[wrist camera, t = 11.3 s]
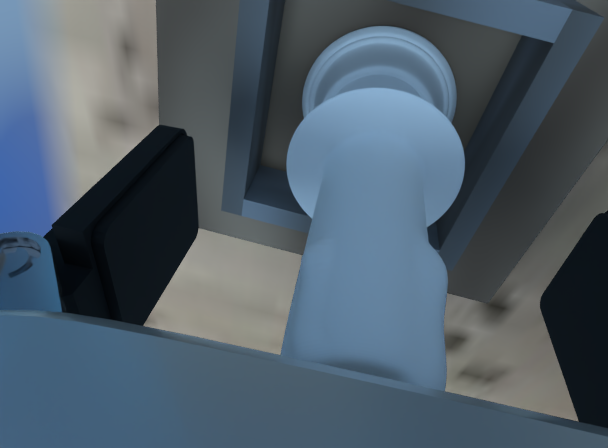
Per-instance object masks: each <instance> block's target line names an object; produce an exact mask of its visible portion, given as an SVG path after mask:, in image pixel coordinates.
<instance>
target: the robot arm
mask: <svg viewBox="0 0 608 448" xmlns="http://www.w3.org/2000/svg"><path fill="white" fill-rule="evenodd" d="M198 228H199V220H198V203H197V186H196V169H195V153H194V140H193V138H192V137H191V136H187V133H186V131H185V130H184V129H182V128H176V127H171V126H166V125H159V126H157V127H156V128H155V129H154V130H153V131H152V132H151V133H150V134H149V135H147V136H146V137H145V138H144V139H143V140H142V141H141V142H140V143H139V144H138V145H137V146H136V147H135V148H134V149H133V150H131V151H130V152H129V153H128V154H127V155H126V156H125V157H124V158H123V159H122V160H121V161H120V162H119V163H118V164H117V165H115V166H114V167H113V168H112V169H111V170H110V171H109V172H108V173H107V174H106V175H105V176H104V177H103V178H102V179H100V180H99V181H98V182H97V183H96V184H95V185H94V186H93V187H92V188H91V189H90V190H89V191H88V192H87V193H86V194H84V195H83V196H82V197H81V198H80V199H79V200H78V201H77V202H76V203H75V204H74V205H73V206H72V207H71V208H69V209H68V210H67V211H66V212H65V213H64V214H63V215H62V216H61V217H60V218H59V219H58V220H57V221H56V222H55V223H53V224H52V229H51V230H50V231H49V232H48V233H47V234H46V235H45V236H44V237H42V236H40V235H37V234H34V233H30V232H9V233H2V234H0V448H608V211H607V212H605V213H601V214H598V215H597V216H596V217H595V218H594V219H593V221H592V222H591V224H590V225H589V227H588V228H587V230H586V231H585V232H584V234H583V235H582V237H581V238H580V240H579V241H578V243H577V244H576V246H575V247H574V249H573V250H572V252H571V253H570V255H569V256H568V258H567V259H566V260H565V262H564V263H563V265H562V266H561V268H560V269H559V271H558V272H557V274H556V275H555V277H554V278H553V280H552V281H551V283H550V284H549V286H548V287H547V288H546V290H545V291H544V293H543V295H542V297H541V301H540V309H541V312H542V315H543V318H544V321H545V324H546V327H547V330H548V333H549V335H550V338H551V341H552V344H553V347H554V350H555V353H556V356H557V359H558V362H559V365H560V368H561V371H562V373H563V376H564V379H565V382H566V385H567V388H568V391H569V394H570V397H571V400H572V403H573V406H574V409H575V411H576V414H577V417H578V420H579V422H577V421H573V420H569V419H564V418H560V417H556V416H551V415H547V414H542V413H538V412H534V411H529V410H525V409H520V408H516V407H512V406H507V405H503V404H498V403H494V402H490V401H485V400H481V399H476V398H472V397H467V396H463V395H458V394H454V393H450V392H445V391H441V390H436V389H432V388H427V387H423V386H418V385H414V384H409V383H405V382H400V381H396V380H391V379H387V378H382V377H378V376H373V375H369V374H364V373H360V372H355V371H351V370H346V369H342V368H337V367H333V366H328V365H324V364H319V363H314V362H310V361H305V360H301V359H296V358H291V357H287V356H282V355H278V354H273V353H268V352H264V351H259V350H255V349H250V348H245V347H241V346H236V345H232V344H227V343H222V342H218V341H213V340H208V339H204V338H199V337H195V336H190V335H185V334H180V333H175V332H170V331H165V330H160V329H155V328H150V327H145V326H143V325H144V323H145V321H146V320H147V318H148V316H149V315H150V313H151V311H152V310H153V308H154V307H155V305H156V303H157V302H158V300H159V298H160V297H161V295H162V293H163V292H164V290H165V288H166V287H167V285H168V283H169V282H170V280H171V278H172V277H173V275H174V273H175V272H176V270H177V268H178V267H179V265H180V263H181V262H182V260H183V258H184V257H185V255H186V253H187V252H188V250H189V248H190V247H191V245H192V243H193V242H194V240H195V238H196V236H197V233H198Z"/></svg>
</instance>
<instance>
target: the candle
mask: <svg viewBox="0 0 608 448" xmlns="http://www.w3.org/2000/svg"><path fill="white" fill-rule="evenodd" d="M456 101H457V92H456V84H455V79H454V76H453V73H452V70H451V68H450V66H449V64H448V62H447V61H446V59H445V57H444V56H443V55H442V53H441V52H440V51H439V50H438V49H437V48H436V47H435V46H434V45H433V44H432V43H431V42H429V41H428V40H427V39H425V38H424V37H422V36H420V35H418V34H416V33H414V32H412V31H409V30H406V29H403V28H399V27H393V26H372V27H366V28H362V29H358V30H355V31H353V32H350V33H348V34H346V35H344V36H342V37H340V38H339V39H337V40H336V41H334V42H333V43H332V44H330V45H329V46H328V47H327V48H326V49H325V50H324V51H323V52H322V53H321V54H320V55H319V57H318V58H317V59H316V61H315V62H314V64H313V65H312V67H311V69H310V71H309V73H308V75H307V78H306V81H305V84H304V88H303V95H302V110H303V117H304V119H303V121H302V122H301V123H300V125H299V126H298V127H297V129H296V131H295V133H294V135H293V137H292V139H291V142H290V145H289V148H288V153H287V162H286V168H287V177H288V181H289V185H290V188H291V190H292V193H293V195H294V197H295V199H296V200H297V202H298V203H299V205H300V206H301V208H302V209H303V210H304V211H305V212H306V213H307V214H308V215H309V216H310V217H311V218H312V222H311V226H310V230H309V234H308V238H307V242H306V246H305V250H304V254H303V256H302V259H301V266H300V270H299V274H298V278H297V283H296V287H295V291H294V295H293V299H292V304H291V308H290V312H289V317H288V321H287V326H286V330H285V335H284V340H283V345H282V350H281V355H282V356H287V357H291V358H296V359H301V360H305V361H310V362H314V363H319V364H324V365H328V366H333V367H337V368H342V369H346V370H351V371H355V372H360V373H364V374H369V375H373V376H378V377H382V378H387V379H391V380H396V381H400V382H405V383H409V384H414V385H418V386H423V387H427V388H432V389H436V390H441V391H445V386H446V375H447V368H446V351H445V340H444V313H445V305H446V297H447V287H448V276H447V270H446V266H445V264H444V262H443V260H442V258H441V257H440V256H439V254H438V253H437V252H436V251H435V249H434V248H433V247H432V246H431V245H430V244H429V242H428V232H427V227H428V226H430V225H431V224H433V223H434V222H435V221H437V220H438V219H439V218H440V217H441V216H442V215H443V214H444V213H445V212H446V211H447V210H448V209H449V207H450V206H451V205H452V203H453V202H454V200H455V199H456V197H457V195H458V193H459V190H460V188H461V185H462V182H463V178H464V171H465V157H464V151H463V146H462V143H461V140H460V138H459V135H458V133H457V132H456V130H455V128H454V126H453V125H452V124H451V123H452V121H453V118H454V114H455V109H456Z"/></svg>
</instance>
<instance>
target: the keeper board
mask: <svg viewBox="0 0 608 448" xmlns="http://www.w3.org/2000/svg"><path fill="white" fill-rule="evenodd" d="M156 17H157V56H158V94H159V125H166V126H171V127H176V128H182V129H184V130H185V131H186V133H187V136H191V137H192V138H193V140H194V153H195V169H196V186H197V203H198V220H199V228H201V229H205V230H209V231H213V232H216V233H220V234H224V235H228V236H232V237H235V238H239V239H243V240H247V241H251V242H255V243H258V244H262V245H266V246H270V247H274V248H277V249H281V250H285V251H289V252H293V253H297V254H300V255H303V254H304V250H305V246H306V242H307V238H308V234H309V230H310V226H311V222H312V218H311V217H310V216H309V215H308V214H307V213H306V212H305V211H304V210H303V209H302V208H301V206H300V205H299V203H298V202H297V200H296V199H295V197H294V195H293V193H292V190H291V188H290V185H289V181H288V177H287V168H286V162H287V153H288V148H289V145H290V142H291V139H292V137H293V135H294V133H295V131H296V129H297V127H298V126H299V125H300V123H301V122H302V121H303V119H304V117H303V110H302V95H303V88H304V84H305V81H306V78H307V75H308V73H309V71H310V69H311V67H312V65H313V64H314V62H315V61H316V59H317V58H318V57H319V55H320V54H321V53H322V52H323V51H324V50H325V49H326V48H327V47H328V46H329V45H330V44H332V43H333V42H334V41H336V40H337V39H339V38H340V37H342V36H344V35H346V34H348V33H350V32H353V31H355V30H358V29H362V28H366V27H372V26H393V27H399V28H403V29H406V30H409V31H412V32H414V33H416V34H418V35H420V36H422V37H424V38H425V39H427V40H428V41H429V42H431V43H432V44H433V45H434V46H435V47H436V48H437V49H438V50H439V51H440V52H441V53H442V55H443V56H444V57H445V59H446V61H447V62H448V64H449V66H450V68H451V70H452V73H453V76H454V79H455V84H456V92H457V101H456V109H455V114H454V118H453V121H452V123H451V124H452V125H453V126H454V128H455V130H456V132H457V133H458V135H459V138H460V140H461V143H462V146H463V151H464V157H465V171H464V178H463V182H462V185H461V188H460V190H459V193H458V195H457V197H456V199H455V200H454V202H453V203H452V205H451V206H450V207H449V209H448V210H447V211H446V212H445V213H444V214H443V215H442V216H441V217H440V218H439V219H438V220H437V221H435V222H434V223H433V224H431V225H430V226H428V227H427V232H428V242H429V244H430V245H431V246H432V247H433V248H434V249H435V251H436V252H437V253H438V254H439V256H440V257H441V258H442V260H443V262H444V264H445V266H446V270H447V276H448V287H447V293H449V294H453V295H457V296H461V297H465V298H468V299H472V300H476V301H480V302H484V303H488V302H489V301H490V300H491V298H492V297H493V296H494V294H495V293H496V291H497V290H498V289H499V287H500V286H501V285H502V283H503V282H504V281H505V279H506V278H507V276H508V275H509V274H510V272H511V271H512V270H513V268H514V267H515V266H516V264H517V263H518V261H519V260H520V259H521V257H522V256H523V255H524V253H525V252H526V250H527V249H528V248H529V246H530V245H531V244H532V242H533V241H534V240H535V238H536V237H537V235H538V234H539V233H540V231H541V230H542V229H543V227H544V226H545V225H546V223H547V222H548V220H549V219H550V218H551V216H552V215H553V214H554V212H555V211H556V210H557V208H558V207H559V205H560V204H561V203H562V201H563V200H564V199H565V197H566V196H567V195H568V193H569V192H570V190H571V189H572V188H573V186H574V185H575V184H576V182H577V181H578V179H579V178H580V177H581V175H582V174H583V173H584V171H585V170H586V169H587V167H588V166H589V164H590V163H591V162H592V160H593V159H594V158H595V156H596V155H597V154H598V152H599V151H600V149H601V148H602V147H603V145H604V144H605V143H606V141H607V140H608V0H156Z"/></svg>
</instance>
